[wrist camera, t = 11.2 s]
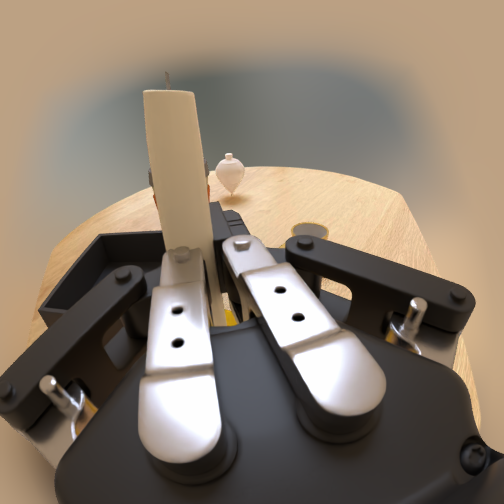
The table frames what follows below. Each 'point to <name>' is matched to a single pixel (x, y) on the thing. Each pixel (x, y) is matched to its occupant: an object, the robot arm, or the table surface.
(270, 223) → the table surface
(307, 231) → the cup
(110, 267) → the bin
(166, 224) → the candle
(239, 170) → the spinning top
